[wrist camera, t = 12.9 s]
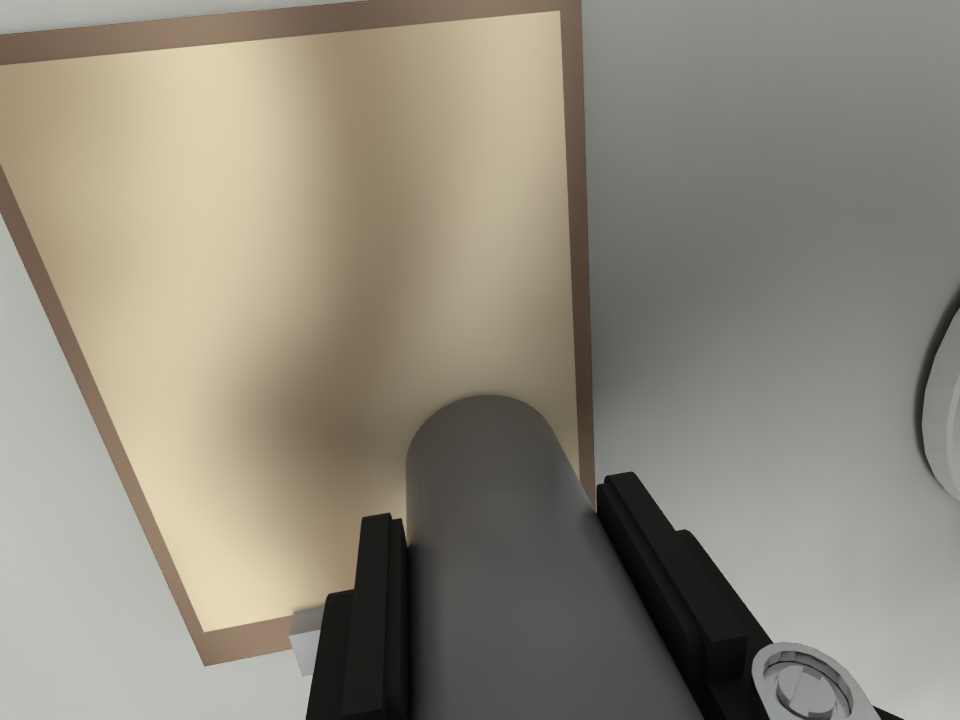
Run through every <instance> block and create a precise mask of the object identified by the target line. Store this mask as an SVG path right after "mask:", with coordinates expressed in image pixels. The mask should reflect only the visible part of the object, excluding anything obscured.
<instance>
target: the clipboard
mask: <svg viewBox="0 0 960 720" xmlns="http://www.w3.org/2000/svg"><path fill="white" fill-rule="evenodd" d="M0 213H1V215H2V217H3V219H4V222H5V224H6V226H7V228H8V230H9V233H10V235H11V237H12V239H13V242H14V244H15V246H16V248H17V250H18V253H19V255H20V257H21V259H22V262H23V264H24V266H25V268H26V270H27V273H28V275H29V277H30V279H31V282H32V284H33V286H34V288H35V290H36V293H37V295H38V297H39V299H40V302H41V304H42V306H43V308H44V311H45V313H46V315H47V317H48V319H49V322H50V324H51V326H52V328H53V331H54V333H55V335H56V337H57V339H58V342H59V344H60V346H61V348H62V351H63V353H64V355H65V357H66V359H67V362H68V364H69V366H70V368H71V371H72V373H73V375H74V377H75V379H76V382H77V384H78V386H79V388H80V391H81V393H82V395H83V397H84V399H85V402H86V404H87V406H88V408H89V411H90V413H91V415H92V417H93V420H94V422H95V424H96V426H97V428H98V431H99V433H100V435H101V437H102V440H103V442H104V444H105V446H106V448H107V451H108V453H109V455H110V457H111V460H112V462H113V464H114V466H115V468H116V471H117V473H118V475H119V477H120V480H121V482H122V484H123V486H124V488H125V491H126V493H127V495H128V497H129V500H130V502H131V504H132V506H133V509H134V511H135V513H136V515H137V517H138V520H139V522H140V524H141V526H142V529H143V531H144V533H145V535H146V537H147V540H148V542H149V544H150V546H151V549H152V551H153V553H154V555H155V557H156V560H157V562H158V564H159V566H160V569H161V571H162V573H163V575H164V577H165V580H166V582H167V584H168V586H169V589H170V591H171V593H172V595H173V597H174V600H175V602H176V604H177V606H178V609H179V611H180V613H181V615H182V618H183V620H184V622H185V624H186V626H187V629H188V631H189V633H190V635H191V638H192V640H193V642H194V644H195V646H196V649H197V651H198V653H199V655H200V658H201V660H202V662H203V664H204V666H210V665H215V664H220V663H225V662H230V661H235V660H240V659H244V658H249V657H254V656H259V655H264V654H269V653H274V652H279V651H284V650H289V649H293V651H294V653H295V656H296V659H297V662H298V665H299V668H300V671H301V673H302V676H307V675H312V674H313V672H314V666H315V660H316V654H317V648H318V642H319V636H320V630H321V624H322V618H323V612H324V606H325V601H326V597H327V596H328V594H329V593H335V592H340V591H346V590H351V589H354V586H355V576H356V567H357V557H358V548H359V539H360V529H361V521H362V518H363V517H365V516H371V515H377V514H383V513H389V512H390V513H391V516H392V519H398V518H402V521H403V526H404V531H405V536H406V458H407V453H408V449H409V446H410V444H411V441H412V439H413V438H414V436H415V434H416V432H417V431H418V430H419V428H420V427H421V425H422V424H423V423H424V422H425V421H426V420H427V419H428V418H429V417H430V416H432V415H433V414H434V413H435V412H437V411H438V410H440V409H441V408H443V407H445V406H446V405H448V404H451V403H453V402H455V401H458V400H461V399H464V398H467V397H472V396H478V395H500V396H506V397H510V398H514V399H517V400H519V401H522V402H524V403H526V404H528V405H529V406H531V407H533V408H534V409H535V410H537V411H538V412H539V413H540V414H541V415H542V416H543V417H544V418H545V419H546V420H547V422H548V423H549V425H550V426H551V428H552V429H553V431H554V433H555V435H556V437H557V439H558V441H559V443H560V445H561V447H562V448H563V450H564V452H565V454H566V456H567V458H568V460H569V462H570V464H571V466H572V468H573V469H574V471H575V473H576V475H577V477H578V479H579V481H580V483H581V485H582V487H583V489H584V490H585V492H586V494H587V496H588V498H589V500H590V502H591V504H592V506H593V508H594V510H595V511H596V504H595V469H594V435H593V400H592V365H591V330H590V295H589V261H588V226H587V191H586V156H585V121H584V87H583V52H582V17H581V0H368V1H357V2H346V3H336V4H325V5H314V6H304V7H293V8H282V9H271V10H261V11H250V12H239V13H228V14H218V15H207V16H196V17H186V18H175V19H164V20H153V21H143V22H132V23H121V24H110V25H100V26H89V27H78V28H68V29H57V30H46V31H35V32H25V33H14V34H3V35H0ZM406 541H407V540H406Z"/></svg>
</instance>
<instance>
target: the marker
mask: <svg viewBox="0 0 960 720" xmlns="http://www.w3.org/2000/svg"><path fill="white" fill-rule="evenodd" d="M406 540H407V546H408V601H409V670H410V720H705V719H704V718H703V716H702V714H701V712H700V710H699V708H698V706H697V704H696V702H695V700H694V698H693V697H692V695H691V693H690V691H689V689H688V687H687V685H686V683H685V681H684V679H683V677H682V676H681V674H680V672H679V670H678V668H677V666H676V664H675V662H674V660H673V658H672V656H671V655H670V653H669V651H668V649H667V647H666V645H665V643H664V641H663V639H662V637H661V635H660V634H659V632H658V630H657V628H656V626H655V624H654V622H653V620H652V618H651V616H650V615H649V613H648V611H647V609H646V607H645V605H644V603H643V601H642V599H641V597H640V595H639V594H638V592H637V590H636V588H635V586H634V584H633V582H632V580H631V578H630V576H629V574H628V573H627V571H626V569H625V567H624V565H623V563H622V561H621V559H620V557H619V555H618V553H617V552H616V550H615V548H614V546H613V544H612V542H611V540H610V538H609V536H608V534H607V532H606V531H605V529H604V527H603V525H602V523H601V521H600V519H599V517H598V515H597V513H596V511H595V510H594V508H593V506H592V504H591V502H590V500H589V498H588V496H587V494H586V492H585V490H584V489H583V487H582V485H581V483H580V481H579V479H578V477H577V475H576V473H575V471H574V469H573V468H572V466H571V464H570V462H569V460H568V458H567V456H566V454H565V452H564V450H563V448H562V447H561V445H560V443H559V441H558V439H557V437H556V435H555V433H554V431H553V429H552V428H551V426H550V425H549V423H548V422H547V420H546V419H545V418H544V417H543V416H542V415H541V414H540V413H539V412H538V411H537V410H535V409H534V408H533V407H531V406H529V405H528V404H526V403H524V402H522V401H519V400H517V399H514V398H510V397H506V396H500V395H478V396H472V397H467V398H464V399H461V400H458V401H455V402H453V403H451V404H448V405H446V406H445V407H443V408H441V409H440V410H438V411H437V412H435V413H434V414H433V415H432V416H430V417H429V418H428V419H427V420H426V421H425V422H424V423H423V424H422V425H421V427H420V428H419V430H418V431H417V432H416V434H415V436H414V438H413V439H412V441H411V444H410V446H409V449H408V453H407V458H406Z"/></svg>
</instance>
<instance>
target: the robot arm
mask: <svg viewBox="0 0 960 720" xmlns="http://www.w3.org/2000/svg"><path fill="white" fill-rule="evenodd" d="M922 432H923V440H924V448H925V454H926V457H927V459H928V462H929V464H930V466H931V469H932V471H933V474H934V476H935V478H936V479H937V480H938V481H939V483H940V484H941V485H942V486H943V487H944V489H945V490H946V491H947V492H948V493H949V495H951V496H952V497H954V498H955V499H957V500H958V501H960V308H959V309H958V311H957V312H956V314H955V315H954V317H953V319H952V321H951V323H950V325H949V327H948V329H947V331H946V334H945V336H944V338H943V340H942V342H941V344H940V346H939V349H938V351H937V353H936V355H935V358H934V362H933V365H932V369H931V372H930V375H929V379H928V382H927V386H926V389H925V396H924V406H923V416H922ZM597 515H598V517H599V519H600V521H601V523H602V525H603V527H604V529H605V531H606V532H607V534H608V536H609V538H610V540H611V542H612V544H613V546H614V548H615V550H616V552H617V553H618V555H619V557H620V559H621V561H622V563H623V565H624V567H625V569H626V571H627V573H628V574H629V576H630V578H631V580H632V582H633V584H634V586H635V588H636V590H637V592H638V594H639V595H640V597H641V599H642V601H643V603H644V605H645V607H646V609H647V611H648V613H649V615H650V616H651V618H652V620H653V622H654V624H655V626H656V628H657V630H658V632H659V634H660V635H661V637H662V639H663V641H664V643H665V645H666V647H667V649H668V651H669V653H670V655H671V656H672V658H673V660H674V662H675V664H676V666H677V668H678V670H679V672H680V674H681V676H682V677H683V679H684V681H685V683H686V685H687V687H688V689H689V691H690V693H691V695H692V697H693V698H694V700H695V702H696V704H697V706H698V708H699V710H700V712H701V714H702V716H703V718H704V719H705V720H904V719H902V718H899V717H897V716H895V715H893V714H890V713H888V712H886V711H884V710H881V709H879V708H877V707H875V706H872V704H871V703H870V701H869V700H868V698H867V697H866V695H865V693H864V692H863V690H862V689H861V687H860V685H859V684H858V683H857V681H856V680H855V679H854V678H853V677H852V675H851V674H850V673H849V672H848V670H847V669H845V668H844V667H843V666H842V665H840V664H839V663H838V662H837V661H836V660H834V659H833V658H832V657H830V656H828V655H826V654H824V653H823V652H821V651H819V650H817V649H815V648H812V647H809V646H805V645H802V644H799V643H789V642H780V643H773V642H772V640H771V639H770V638H769V636H768V635H767V634H766V632H765V631H764V630H763V628H762V627H761V626H760V624H759V623H758V622H757V620H756V619H755V617H754V616H753V615H752V613H751V612H750V611H749V609H748V608H747V607H746V605H745V604H744V603H743V601H742V600H741V599H740V597H739V596H738V594H737V593H736V592H735V590H734V589H733V588H732V586H731V585H730V584H729V582H728V581H727V580H726V578H725V577H724V576H723V574H722V573H721V572H720V570H719V569H718V567H717V566H716V565H715V563H714V562H713V561H712V559H711V558H710V557H709V555H708V554H707V553H706V551H705V550H704V549H703V547H702V546H701V545H700V543H699V542H698V540H697V539H696V538H695V537H694V536H693V534H692V533H691V532H690V531H688V530H686V529H684V530H679V531H675V529H674V528H673V527H672V525H671V524H670V522H669V521H668V520H667V518H666V517H665V515H664V514H663V512H662V511H661V510H660V508H659V507H658V505H657V504H656V502H655V501H654V500H653V498H652V497H651V495H650V494H649V492H648V491H647V490H646V488H645V487H644V485H643V484H642V482H641V481H640V480H639V478H638V477H637V475H636V474H635V473H634V472H626V473H620V474H614V475H608V476H606V477H605V479H604V484H598V485H597ZM306 720H410V670H409V601H408V546H407V541H406V536H405V531H404V526H403V521H402V518H398V519H392V516H391V513H390V512H389V513H383V514H377V515H371V516H365V517H363V518H362V521H361V529H360V539H359V548H358V557H357V567H356V576H355V586H354V589H351V590H346V591H340V592H335V593H329V594H328V596H327V597H326V601H325V606H324V612H323V618H322V624H321V630H320V636H319V642H318V648H317V654H316V660H315V666H314V672H313V678H312V684H311V690H310V696H309V702H308V708H307V714H306Z"/></svg>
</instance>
